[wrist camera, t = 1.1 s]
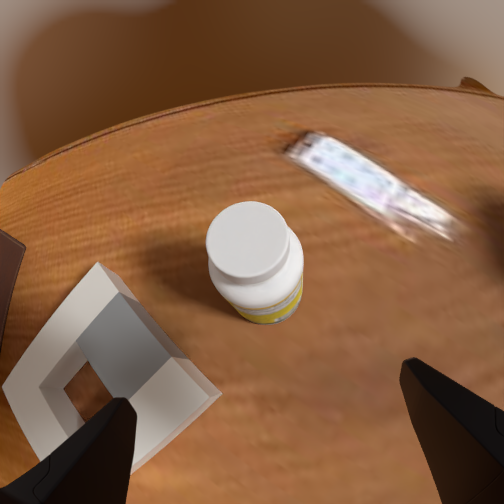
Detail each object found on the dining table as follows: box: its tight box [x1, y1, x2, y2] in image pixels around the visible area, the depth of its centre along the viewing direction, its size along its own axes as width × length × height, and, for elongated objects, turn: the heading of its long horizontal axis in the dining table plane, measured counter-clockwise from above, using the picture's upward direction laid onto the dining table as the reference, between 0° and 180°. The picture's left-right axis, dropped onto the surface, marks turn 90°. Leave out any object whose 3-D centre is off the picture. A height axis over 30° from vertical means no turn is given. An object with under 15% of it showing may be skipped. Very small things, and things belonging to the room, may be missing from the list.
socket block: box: [2, 262, 223, 475], centre depth 19 cm, size 14×18×4 cm
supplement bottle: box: [206, 201, 303, 325], centre depth 18 cm, size 5×5×10 cm
